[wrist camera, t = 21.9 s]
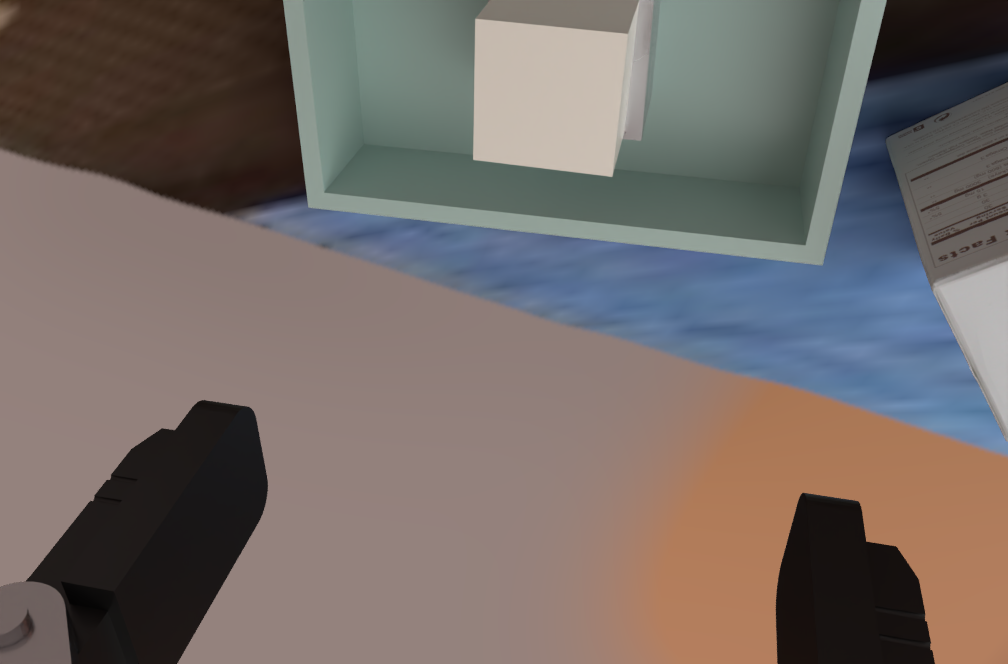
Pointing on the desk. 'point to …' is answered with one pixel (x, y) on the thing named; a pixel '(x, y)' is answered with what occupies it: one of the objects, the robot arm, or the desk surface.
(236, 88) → the desk surface
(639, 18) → the tin block
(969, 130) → the supplement box
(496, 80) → the cream box
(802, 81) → the tote
